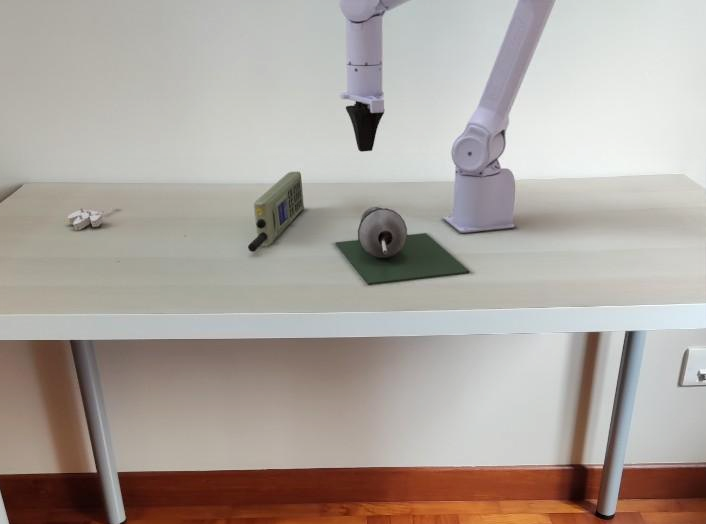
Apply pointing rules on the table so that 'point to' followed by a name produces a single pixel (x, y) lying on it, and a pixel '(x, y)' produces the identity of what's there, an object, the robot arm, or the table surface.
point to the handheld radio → (277, 209)
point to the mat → (403, 261)
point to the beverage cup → (382, 232)
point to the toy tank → (85, 218)
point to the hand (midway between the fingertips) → (365, 150)
